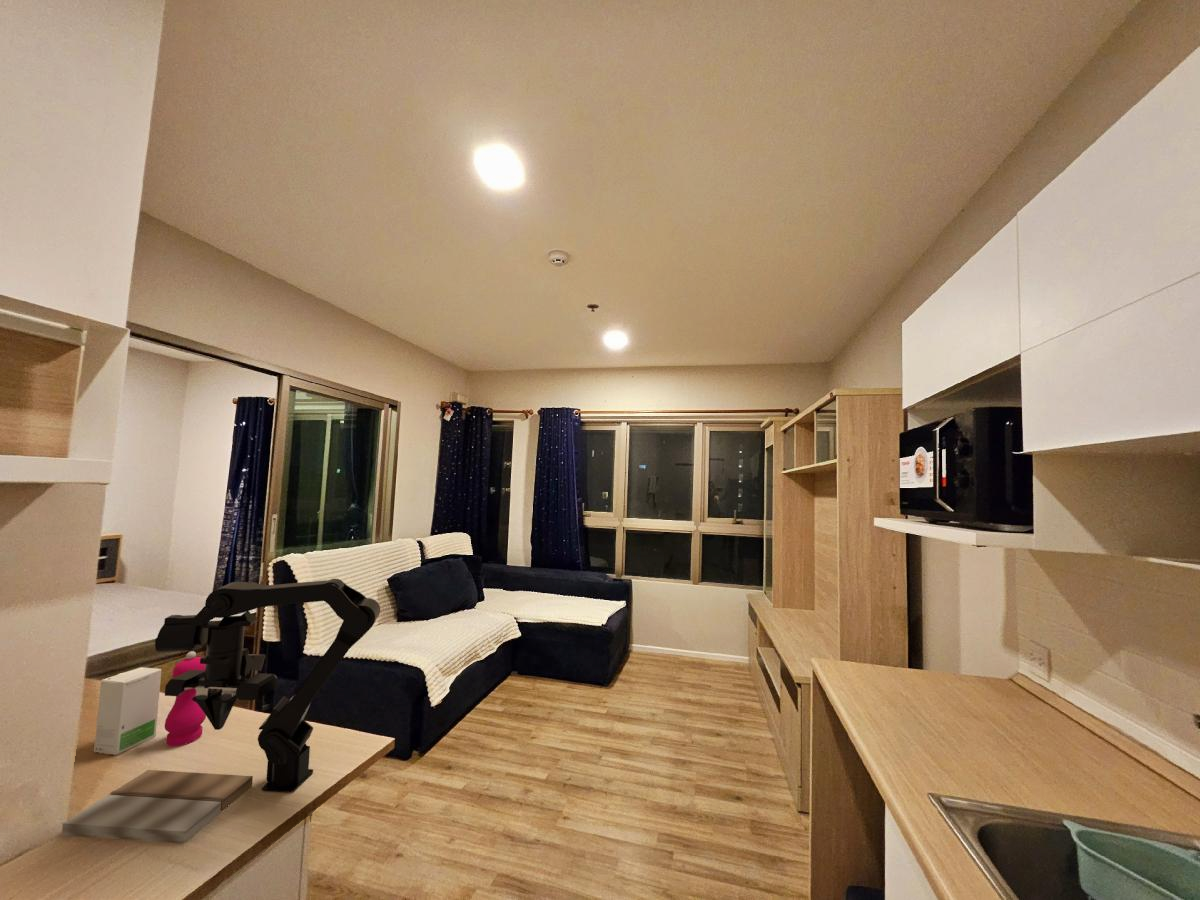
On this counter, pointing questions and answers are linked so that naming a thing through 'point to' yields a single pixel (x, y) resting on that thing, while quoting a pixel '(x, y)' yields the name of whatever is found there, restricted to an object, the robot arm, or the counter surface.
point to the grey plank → (142, 819)
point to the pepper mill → (185, 708)
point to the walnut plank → (187, 786)
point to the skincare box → (127, 710)
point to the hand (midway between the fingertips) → (219, 728)
